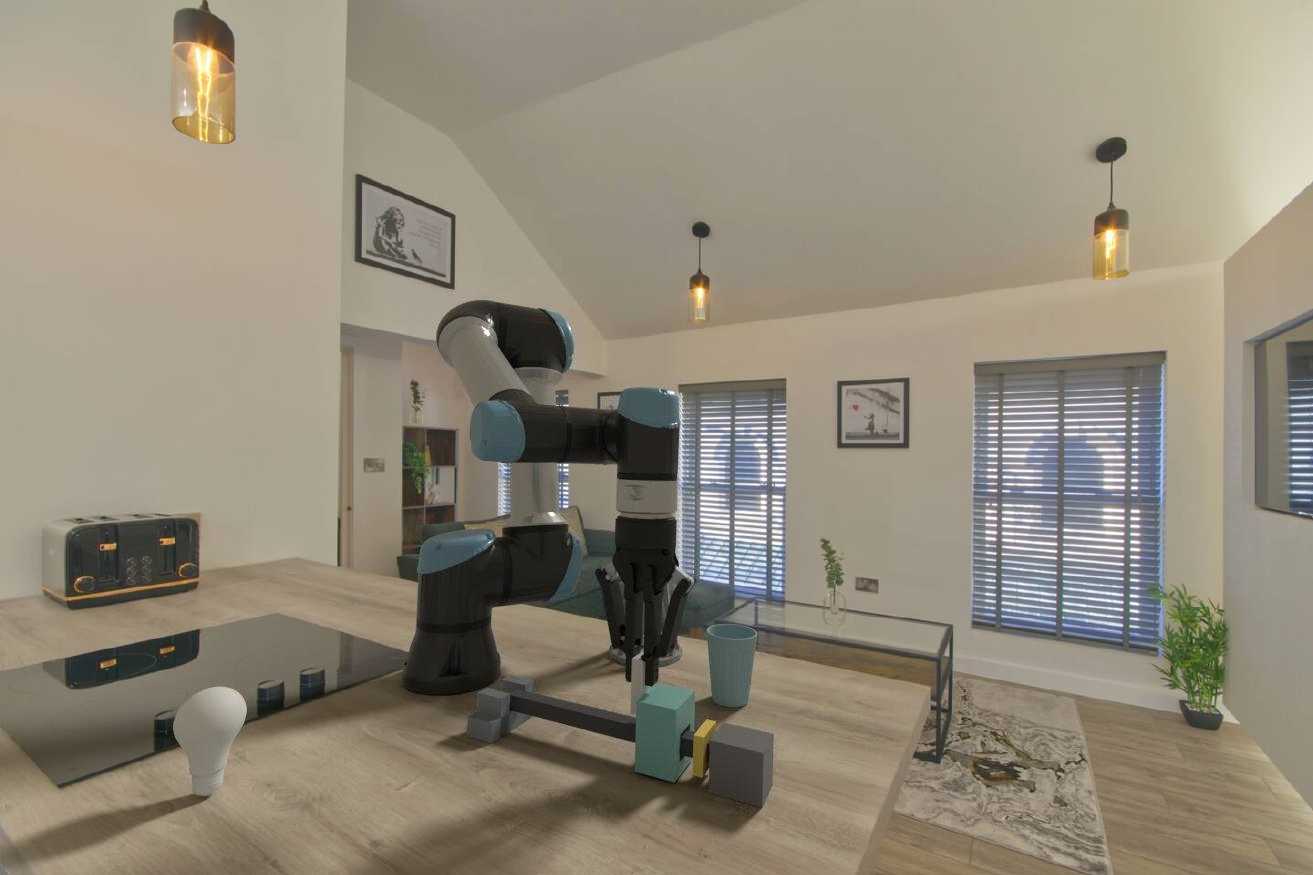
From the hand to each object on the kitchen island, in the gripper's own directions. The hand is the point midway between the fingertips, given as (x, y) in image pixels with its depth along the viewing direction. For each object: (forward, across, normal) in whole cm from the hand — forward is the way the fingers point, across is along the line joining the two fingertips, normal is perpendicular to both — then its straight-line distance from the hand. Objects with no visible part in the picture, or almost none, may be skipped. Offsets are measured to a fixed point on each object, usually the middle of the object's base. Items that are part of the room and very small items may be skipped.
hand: (640, 710), depth 69 cm
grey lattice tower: (+6, -16, +34) cm, 38 cm away
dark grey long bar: (+5, -2, 0) cm, 5 cm away
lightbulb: (+6, -37, -27) cm, 46 cm away
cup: (+6, +4, +22) cm, 23 cm away
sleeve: (+6, +3, 0) cm, 7 cm away
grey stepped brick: (+6, -20, 0) cm, 21 cm away
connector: (+6, +12, 0) cm, 14 cm away
